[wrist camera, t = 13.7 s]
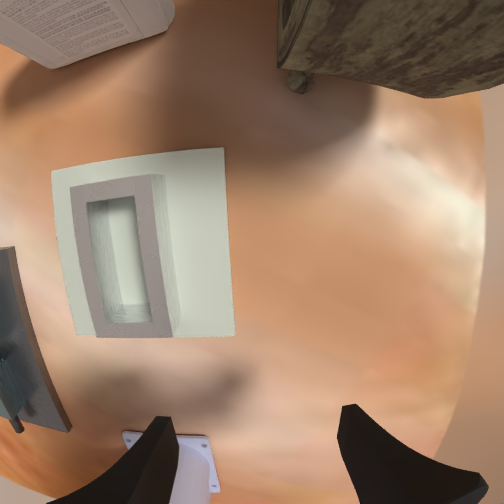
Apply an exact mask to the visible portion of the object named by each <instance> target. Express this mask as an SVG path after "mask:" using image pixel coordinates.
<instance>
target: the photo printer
mask: <svg viewBox="0 0 504 504" xmlns="http://www.w3.org/2000/svg"><path fill="white" fill-rule="evenodd" d="M174 16H175V6H174V3H173V0H0V43H1V44H3V45H5V46H7V47H9V48H11V49H13V50H15V51H17V52H18V53H20V54H22V55H24V56H26V57H28V58H30V59H32V60H33V61H35V62H37V63H39V64H41V65H42V66H44V67H46V68H49V69H56V68H59V67H63V66H66V65H69V64H71V63H74V62H76V61H79V60H82V59H84V58H87V57H90V56H92V55H95V54H98V53H101V52H103V51H106V50H109V49H112V48H115V47H118V46H121V45H125V44H128V43H131V42H134V41H137V40H141V39H144V38H147V37H150V36H153V35H156V34H159V33H162V32H164V31H166V30H168V26H169V25H170V24H171V23H172V21H173V19H174Z"/></svg>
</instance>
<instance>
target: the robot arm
mask: <svg viewBox="0 0 504 504" xmlns="http://www.w3.org/2000/svg"><path fill="white" fill-rule="evenodd" d="M122 437H123V440H124V442H125V444H126V446H127V448H128V451H127V452H126V453H125V454H124V455H123V456H122V457H121V458H120V459H119V460H118V461H117V462H116V463H115V464H114V465H113V466H112V467H111V468H110V469H108V470H107V471H106V472H105V473H103V474H102V475H101V476H99V477H98V478H97V479H95V480H94V481H92V482H91V483H89V484H88V485H86V486H84V487H82V488H81V489H79V490H77V491H75V492H73V493H71V494H69V495H67V496H64V497H62V498H59V499H56V500H54V501H51V502H48V503H46V504H210V495H211V493H218V492H220V484H219V480H218V476H217V472H216V468H215V463H214V459H213V454H212V450H211V445H210V440H209V438H208V437H206V436H186V435H176V434H175V430H174V427H173V423H172V420H171V417H165V416H156V417H155V418H154V420H153V421H152V422H151V424H150V425H149V426H148V428H147V429H146V430H145V432H144V433H141V432H132V431H123V433H122ZM337 439H338V444H339V448H340V452H341V455H342V458H343V461H344V463H345V466H346V468H347V471H348V473H349V475H350V478H351V480H352V483H353V485H354V488H355V490H356V493H357V495H358V498H359V502H360V504H478V503H479V501H480V500H481V499H482V498H483V497H484V495H485V494H486V493H487V491H488V488H489V487H488V485H487V483H486V482H485V480H484V479H483V477H482V476H481V475H480V474H479V473H477V472H472V471H467V470H462V469H458V468H454V467H451V466H448V465H445V464H442V463H439V462H437V461H435V460H432V459H430V458H428V457H426V456H424V455H422V454H420V453H418V452H416V451H414V450H413V449H411V448H409V447H407V446H406V445H404V444H403V443H402V442H400V441H399V440H397V439H396V438H395V437H393V436H392V435H391V434H389V433H388V432H387V431H386V430H385V429H383V428H382V427H381V426H380V425H379V424H377V423H376V422H375V421H374V420H373V419H372V418H371V417H370V416H369V415H368V414H366V413H365V412H364V411H363V410H362V409H361V408H360V407H359V406H358V405H357V404H351V405H346V406H342V411H341V417H340V423H339V428H338V434H337ZM204 444H206V445H204ZM500 504H503V503H500Z"/></svg>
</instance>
